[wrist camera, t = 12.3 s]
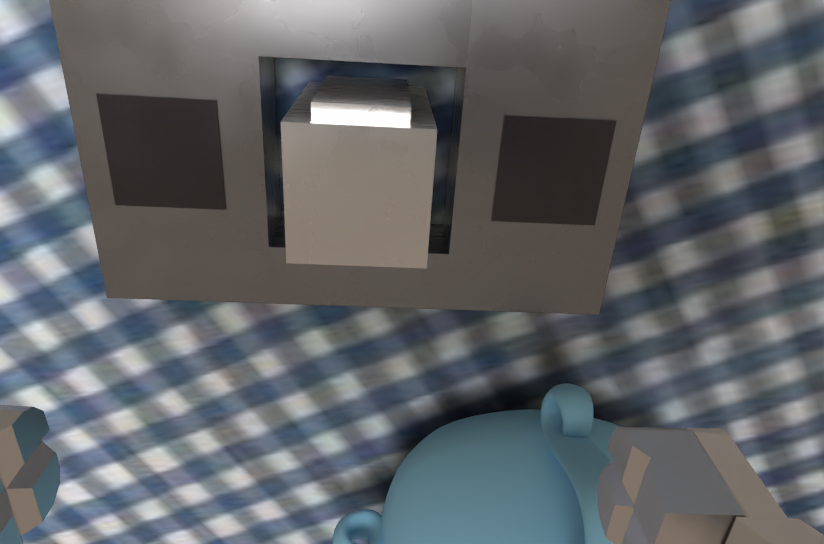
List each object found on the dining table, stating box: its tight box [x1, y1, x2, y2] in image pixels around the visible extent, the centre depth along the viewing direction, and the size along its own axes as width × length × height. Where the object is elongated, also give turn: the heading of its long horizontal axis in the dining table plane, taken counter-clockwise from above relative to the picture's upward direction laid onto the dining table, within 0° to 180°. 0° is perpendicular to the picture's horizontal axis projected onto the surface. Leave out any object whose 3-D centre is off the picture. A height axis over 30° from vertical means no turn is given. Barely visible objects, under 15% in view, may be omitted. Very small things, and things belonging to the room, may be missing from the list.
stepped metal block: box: [281, 75, 437, 269], centre depth 21 cm, size 4×5×7 cm
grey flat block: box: [49, 0, 671, 315], centre depth 23 cm, size 20×12×3 cm, turn 87°
